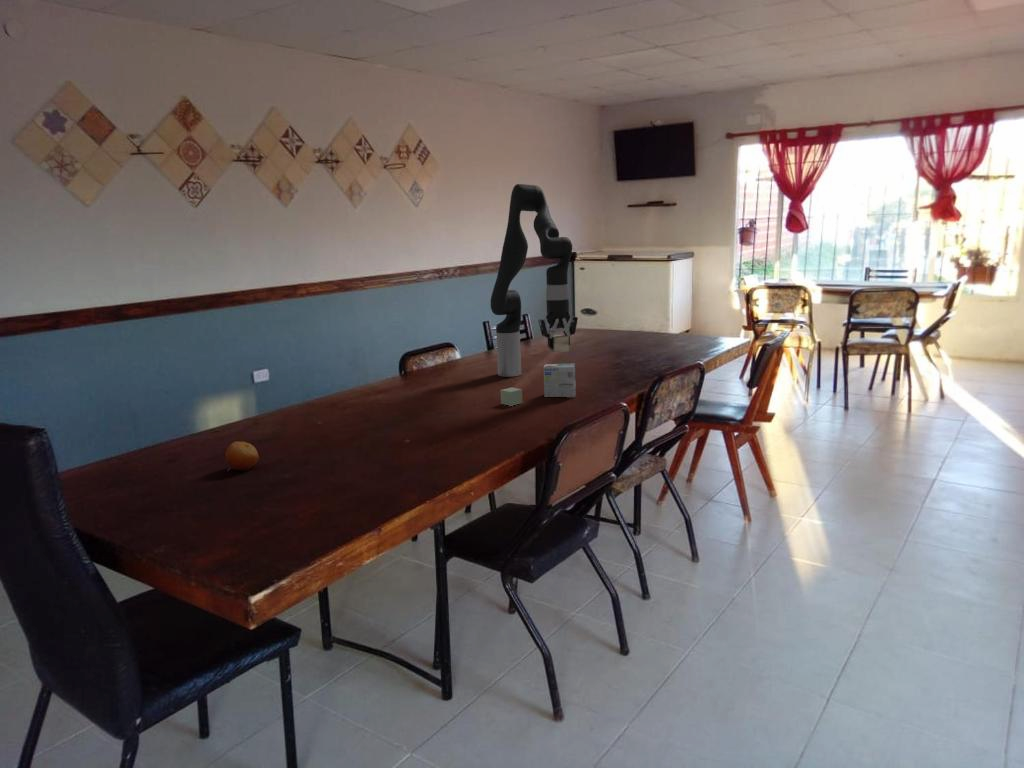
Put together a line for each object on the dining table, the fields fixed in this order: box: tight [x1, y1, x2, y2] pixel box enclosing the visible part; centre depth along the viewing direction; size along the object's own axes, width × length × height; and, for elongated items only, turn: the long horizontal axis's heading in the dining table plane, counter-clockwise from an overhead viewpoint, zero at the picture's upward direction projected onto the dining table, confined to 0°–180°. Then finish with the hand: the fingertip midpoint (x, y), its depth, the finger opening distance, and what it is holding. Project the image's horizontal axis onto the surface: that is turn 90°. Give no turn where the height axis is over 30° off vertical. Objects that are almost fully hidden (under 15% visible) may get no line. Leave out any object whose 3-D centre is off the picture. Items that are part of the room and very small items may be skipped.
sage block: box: [500, 387, 523, 407], centre depth 245 cm, size 5×5×5 cm
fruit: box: [224, 441, 260, 472], centre depth 188 cm, size 8×8×8 cm
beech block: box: [548, 334, 570, 353], centre depth 251 cm, size 5×5×5 cm
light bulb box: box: [542, 363, 576, 398], centre depth 254 cm, size 11×7×11 cm, turn 84°
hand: (558, 347), depth 252 cm, fingers closed on beech block, 5 cm apart
